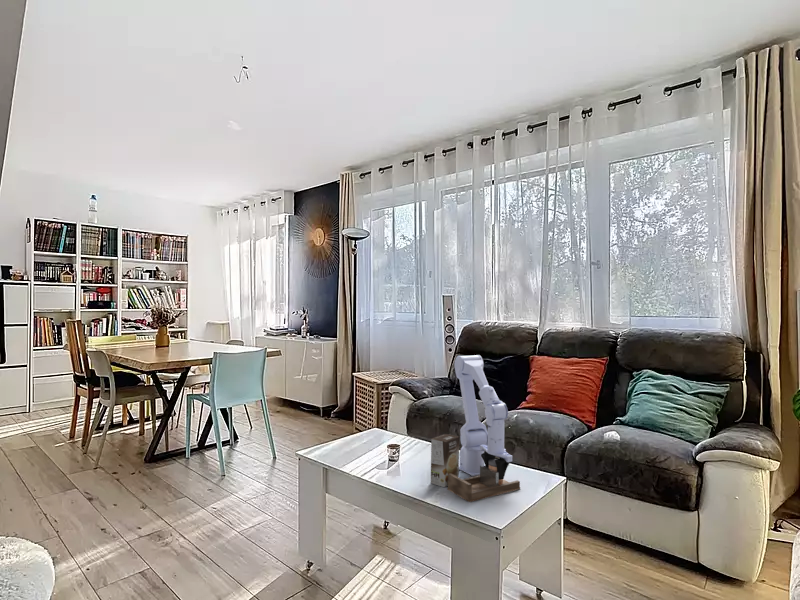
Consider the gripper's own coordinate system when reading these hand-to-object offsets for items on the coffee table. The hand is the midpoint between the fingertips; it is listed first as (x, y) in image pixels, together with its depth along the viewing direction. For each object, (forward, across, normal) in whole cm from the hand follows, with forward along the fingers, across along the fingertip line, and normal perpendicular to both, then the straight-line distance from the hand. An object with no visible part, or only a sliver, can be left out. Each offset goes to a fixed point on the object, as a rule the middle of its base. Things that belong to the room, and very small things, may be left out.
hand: (495, 476), depth 172 cm
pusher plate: (+3, 0, +3) cm, 5 cm away
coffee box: (+4, +12, +13) cm, 18 cm away
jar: (+2, 0, 0) cm, 2 cm away
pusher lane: (+3, 0, +5) cm, 6 cm away
